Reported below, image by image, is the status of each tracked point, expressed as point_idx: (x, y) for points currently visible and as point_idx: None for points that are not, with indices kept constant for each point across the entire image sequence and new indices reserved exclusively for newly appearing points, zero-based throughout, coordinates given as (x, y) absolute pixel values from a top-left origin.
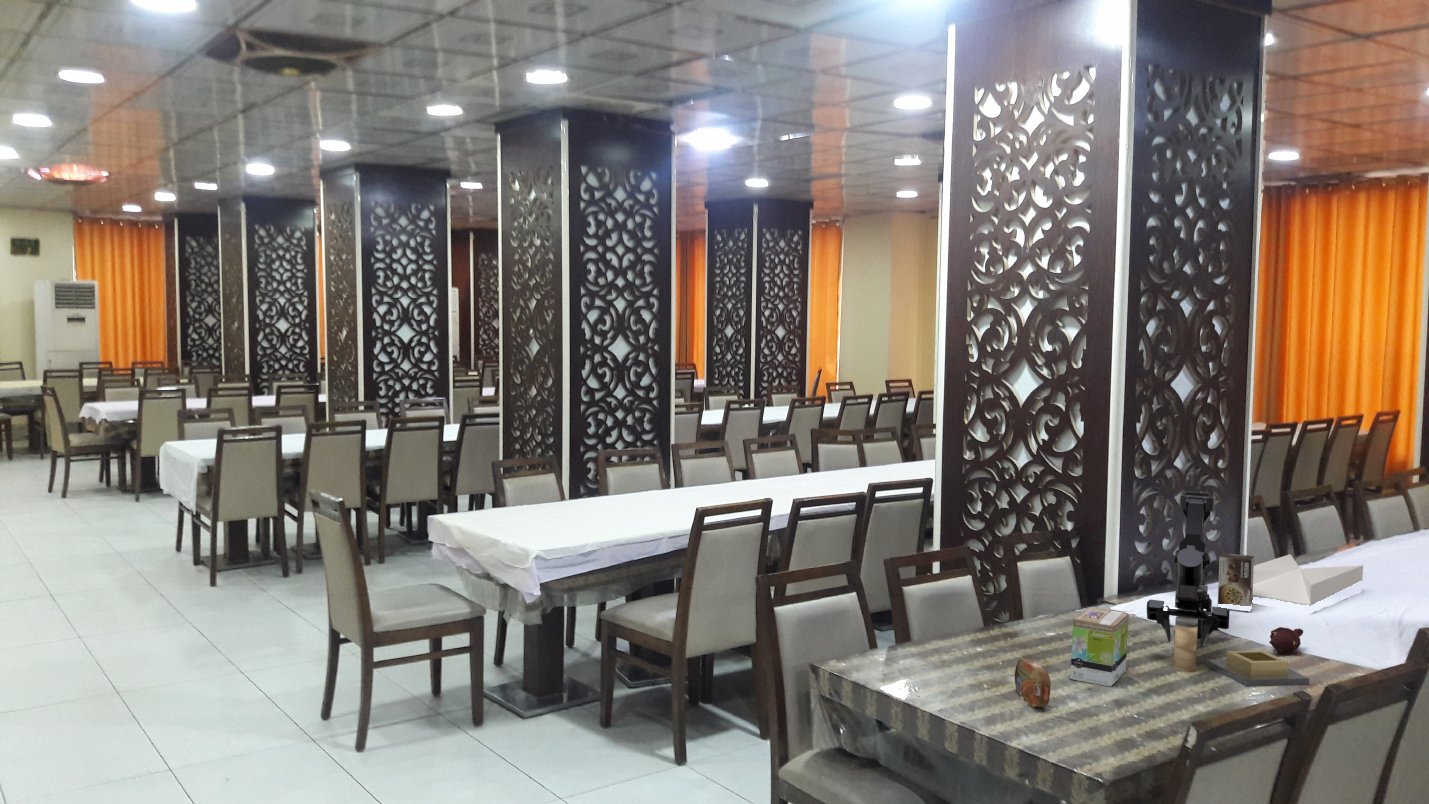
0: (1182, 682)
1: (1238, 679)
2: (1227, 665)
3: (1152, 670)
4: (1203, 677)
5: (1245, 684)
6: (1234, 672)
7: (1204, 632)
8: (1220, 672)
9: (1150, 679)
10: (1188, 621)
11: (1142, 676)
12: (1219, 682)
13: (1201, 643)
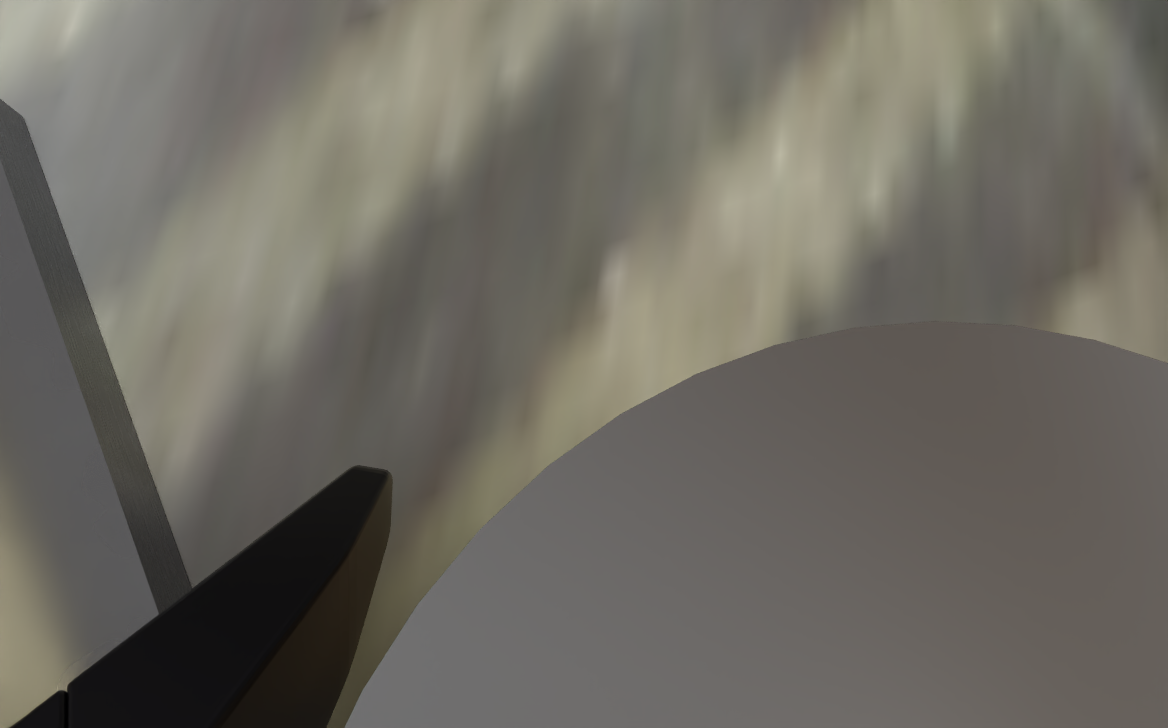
0: (687, 73)
1: (49, 233)
2: (19, 702)
3: None
4: (438, 319)
5: (18, 125)
6: (26, 365)
7: (174, 678)
8: (183, 575)
9: (985, 81)
10: (924, 332)
11: (1060, 157)
12: (295, 183)
13: (372, 471)
